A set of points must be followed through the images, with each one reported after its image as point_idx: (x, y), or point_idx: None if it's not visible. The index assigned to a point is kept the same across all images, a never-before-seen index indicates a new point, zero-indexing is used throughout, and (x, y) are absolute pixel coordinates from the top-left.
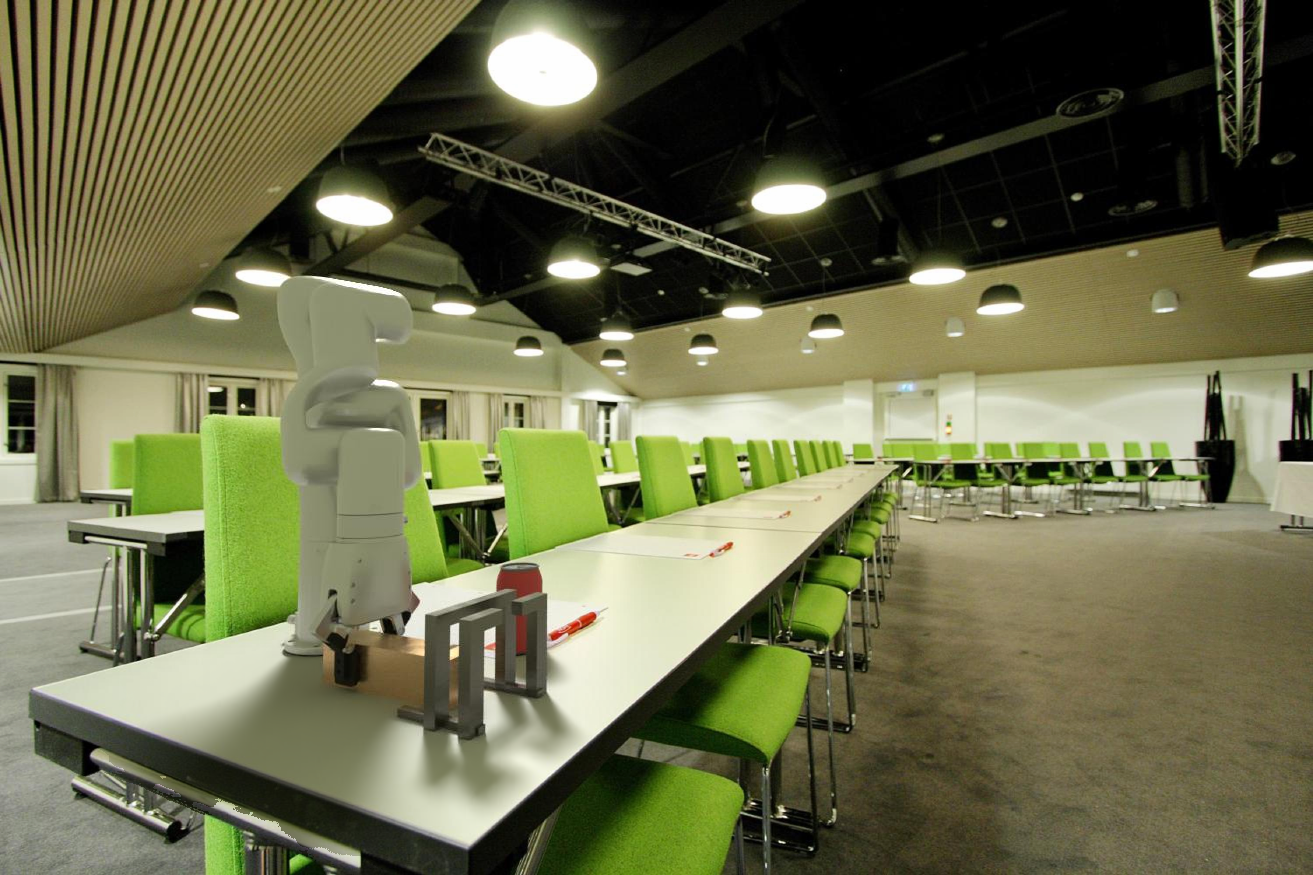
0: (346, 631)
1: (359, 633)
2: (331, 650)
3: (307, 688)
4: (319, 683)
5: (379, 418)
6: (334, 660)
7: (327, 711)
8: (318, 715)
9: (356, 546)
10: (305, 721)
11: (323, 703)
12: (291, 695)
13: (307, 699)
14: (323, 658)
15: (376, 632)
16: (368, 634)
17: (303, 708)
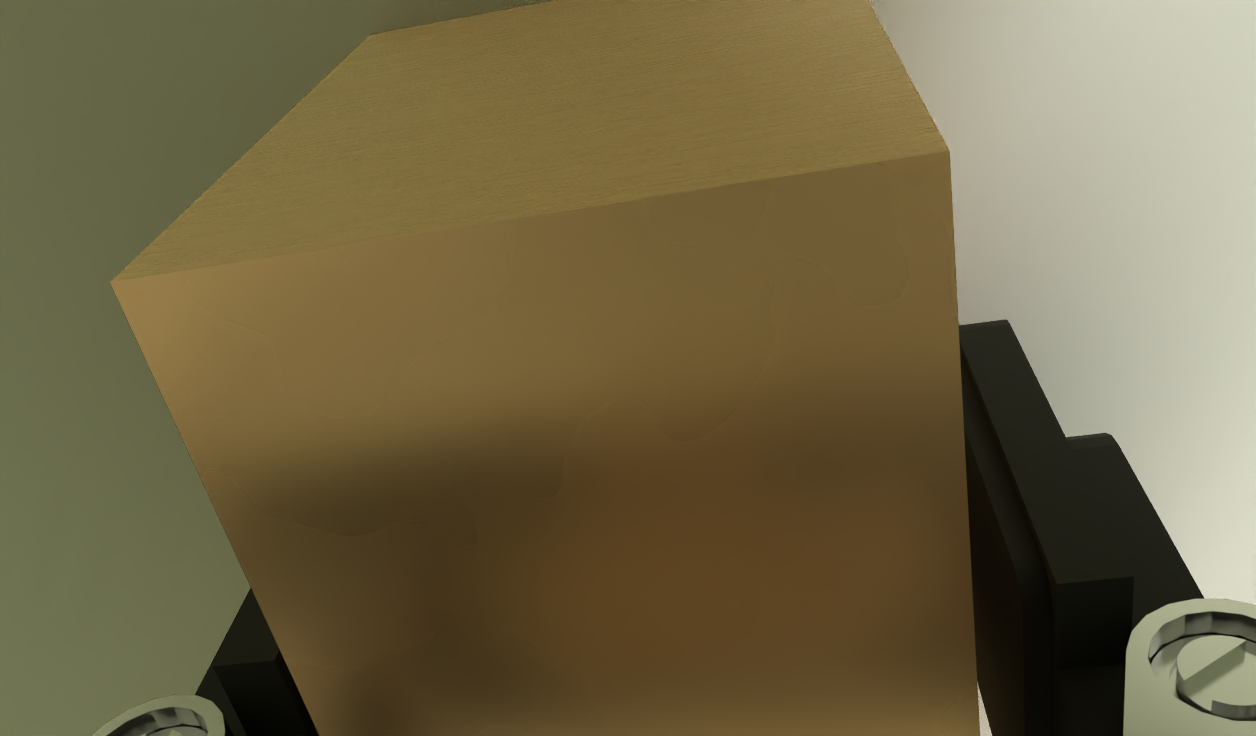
0: (658, 228)
1: (738, 556)
2: (129, 726)
3: (184, 64)
4: (336, 20)
5: None
6: (217, 655)
7: (178, 680)
8: (108, 689)
9: None
10: (14, 703)
11: (199, 539)
12: (2, 125)
13: (112, 357)
14: (268, 139)
15: (945, 727)
16: (784, 725)
17: (43, 506)
